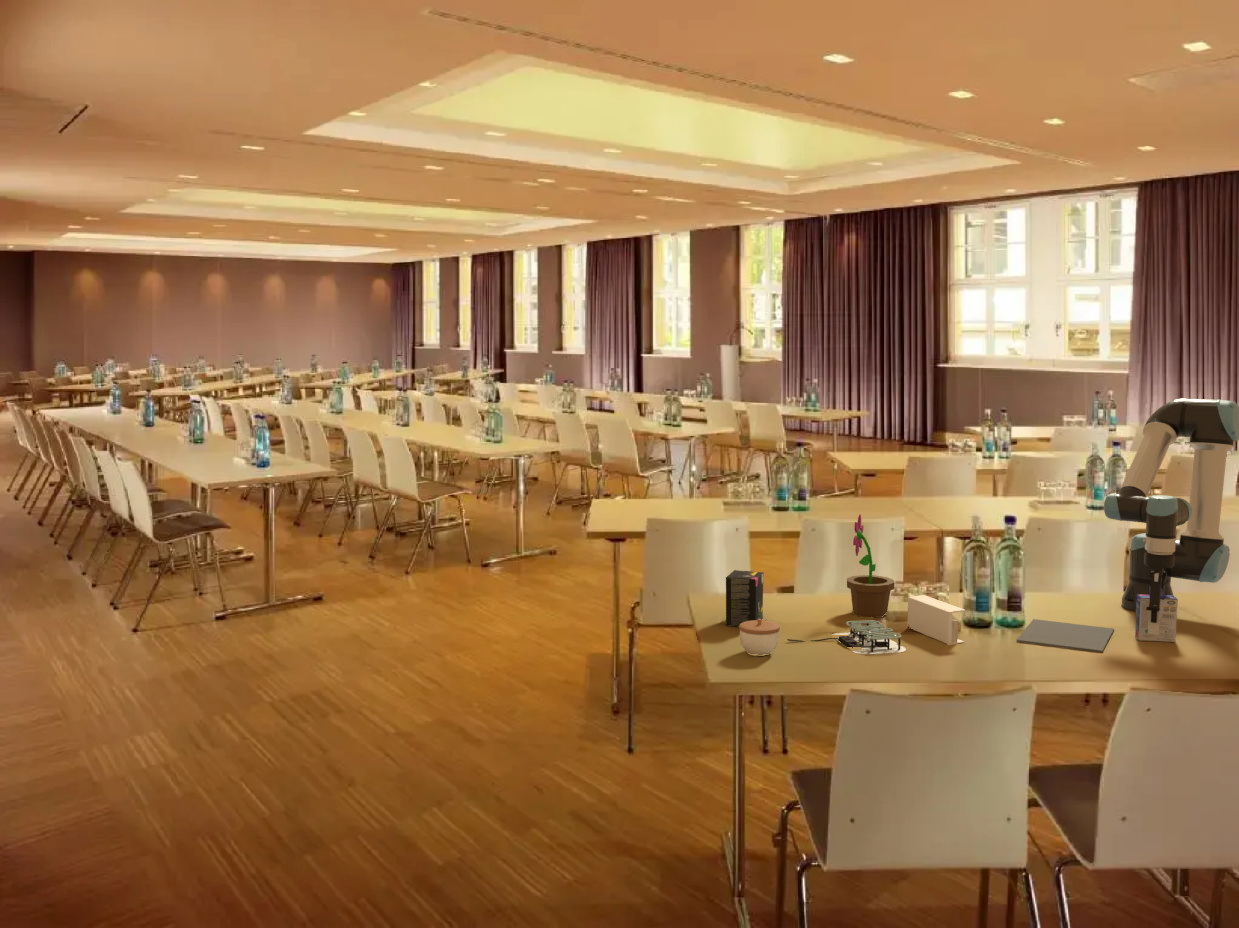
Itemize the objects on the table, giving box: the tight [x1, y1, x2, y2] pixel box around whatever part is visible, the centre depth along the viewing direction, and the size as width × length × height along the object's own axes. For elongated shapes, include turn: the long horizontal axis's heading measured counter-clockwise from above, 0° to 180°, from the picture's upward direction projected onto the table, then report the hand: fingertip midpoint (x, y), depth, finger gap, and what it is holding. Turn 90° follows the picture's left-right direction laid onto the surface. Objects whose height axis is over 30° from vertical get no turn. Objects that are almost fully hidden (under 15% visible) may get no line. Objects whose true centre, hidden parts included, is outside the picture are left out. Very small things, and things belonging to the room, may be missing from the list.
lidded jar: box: [738, 619, 781, 655], centre depth 306 cm, size 11×11×9 cm
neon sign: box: [787, 619, 907, 655], centre depth 315 cm, size 21×4×29 cm
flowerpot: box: [846, 514, 895, 619], centre depth 346 cm, size 14×14×30 cm
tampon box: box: [725, 569, 764, 627], centre depth 337 cm, size 11×9×15 cm
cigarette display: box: [907, 594, 966, 646], centre depth 323 cm, size 20×6×9 cm, turn 21°
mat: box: [1016, 618, 1115, 654], centre depth 321 cm, size 25×22×1 cm
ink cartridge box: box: [1134, 587, 1179, 643], centre depth 317 cm, size 10×6×14 cm, turn 78°
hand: (1155, 628), depth 318 cm, fingers open, 12 cm apart
